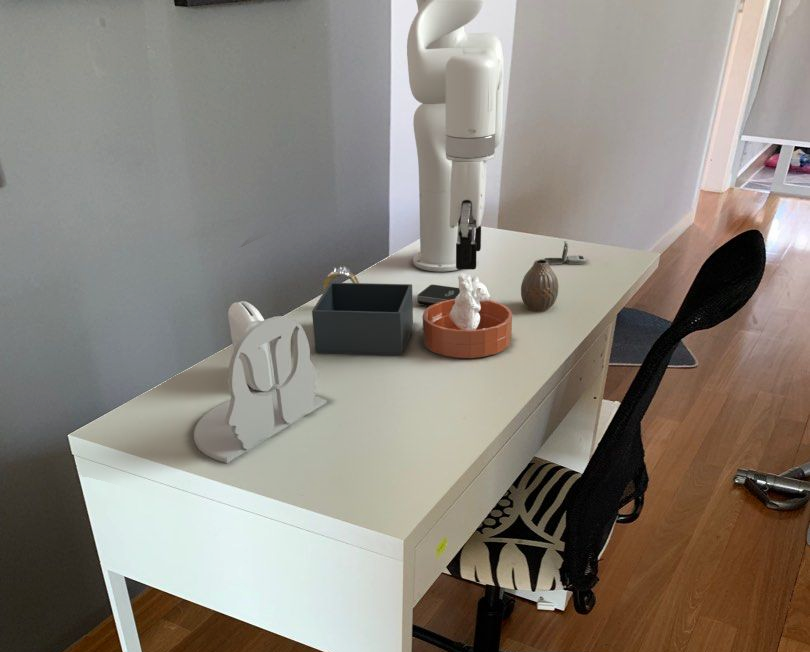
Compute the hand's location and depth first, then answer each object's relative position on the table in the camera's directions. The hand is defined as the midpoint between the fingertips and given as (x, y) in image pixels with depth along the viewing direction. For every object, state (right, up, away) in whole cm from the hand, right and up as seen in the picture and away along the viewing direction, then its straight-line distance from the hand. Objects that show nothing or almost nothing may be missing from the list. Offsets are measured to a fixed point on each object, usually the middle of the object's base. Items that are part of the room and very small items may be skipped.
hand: (468, 259), depth 140 cm
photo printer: (-35, -20, -1) cm, 40 cm away
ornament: (-34, -28, -13) cm, 46 cm away
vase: (+15, -3, +21) cm, 26 cm away
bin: (-17, -10, +11) cm, 23 cm away
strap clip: (+24, +13, +42) cm, 50 cm away
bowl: (0, -12, +9) cm, 14 cm away
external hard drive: (-2, -1, +24) cm, 24 cm away
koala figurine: (0, -11, +9) cm, 14 cm away
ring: (-22, -2, +23) cm, 32 cm away
